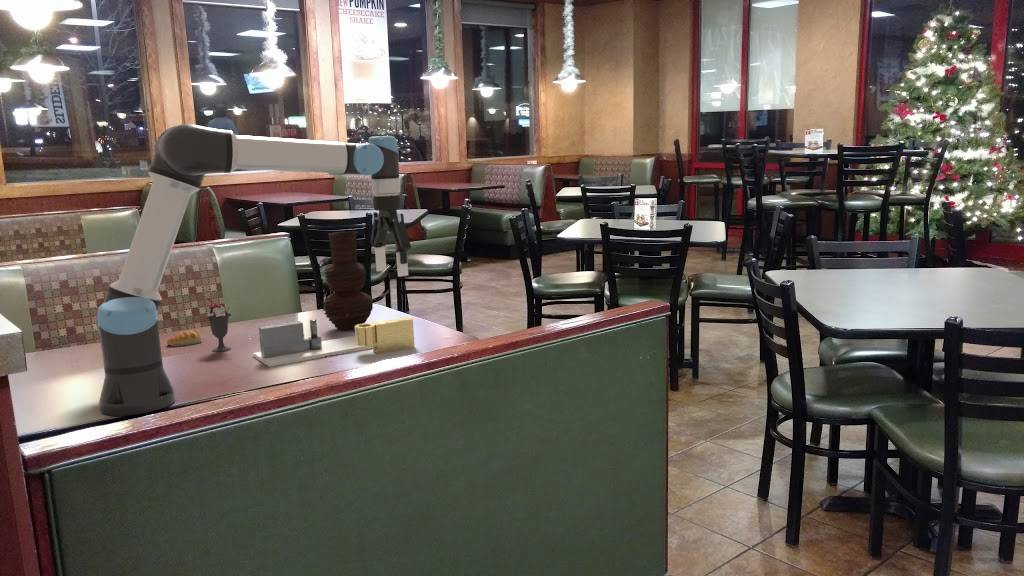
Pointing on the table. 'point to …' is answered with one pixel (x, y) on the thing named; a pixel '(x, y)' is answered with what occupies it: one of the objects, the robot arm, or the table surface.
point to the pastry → (185, 338)
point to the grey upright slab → (287, 339)
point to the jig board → (316, 352)
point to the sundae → (218, 324)
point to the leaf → (386, 335)
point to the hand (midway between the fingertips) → (392, 273)
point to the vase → (346, 284)
